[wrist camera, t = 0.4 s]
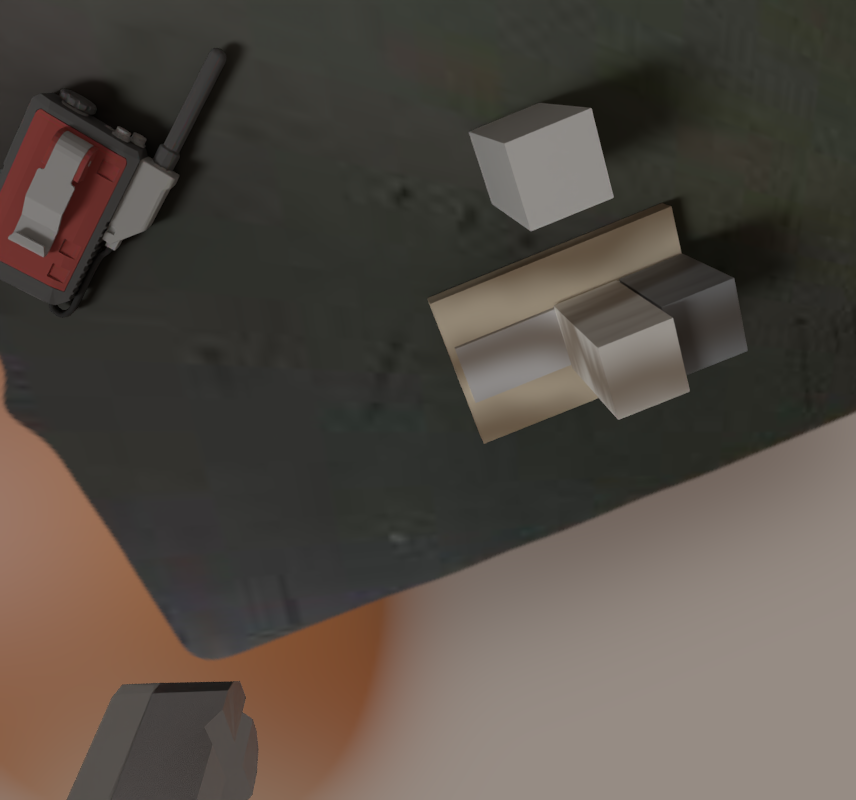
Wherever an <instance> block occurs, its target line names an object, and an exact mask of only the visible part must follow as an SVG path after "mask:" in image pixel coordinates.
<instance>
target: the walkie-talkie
mask: <svg viewBox="0 0 856 800" xmlns="http://www.w3.org/2000/svg"><path fill="white" fill-rule="evenodd" d="M225 62H226V54H225V53H224V51H223V50H221V49H219V48H213V49H212V50H211V51H210V52H209V54H208V56H207V58H206V60H205V62H204V64H203V66H202V68H201V70H200V72H199V74H198V76H197V78H196V80H195V82H194V84H193V86H192V88H191V90H190V92H189V94H188V96H187V98H186V100H185V102H184V104H183V106H182V108H181V110H180V112H179V114H178V116H177V118H176V120H175V122H174V124H173V127H172V129H171V131H170V133H169V135H168V137H167V139H166V141H165V143H164V144H160V146H159V148H158V150H157V152H156V154H155V156H154V158H153V159H152V158H150V157H148V155H147V150H146V148H145V147H146V145H144V144H145V142H146V140H147V139H146V138H145V137H144V136H142V135H140V134H138V133H136V132H134V133H133V135H132V137H130V135H131V133H130V132H129V131H127V130H126V129H124V128H122V127H119V126H118V127H117V128H116V130H115V129H113V128H112V127H110V126H108V125H107V124H105V123H103V122H102V121H100V120H98V119H97V118H95V117H93V116H92V115H94V114H95V113H96V111H97V107H96V106H95V105H94V104H93V103H92V102H91V101H90V100H88V99H87V98H85V97H83V96H82V95H80V94H78V93H76V92H73V91H71V90H69V89H65V88H64V89H61V90H60V93H59V96H58V95H57V94H55V93H42V94H39V95H36V96H34V97H32V99H31V101H30V103H29V105H28V108H27V110H26V112H25V114H24V118H23V120H22V122H21V124H20V127H19V129H18V131H17V133H16V135H15V137H14V139H13V142H12V144H11V147H10V149H9V152H8V154H7V156H6V158H5V161H4V163H3V164H4V167H3V169H1V170H0V172H1V174H0V280H2V281H4V282H6V283H8V284H10V285H12V286H14V287H16V288H18V289H20V290H22V291H24V292H26V293H28V294H30V295H32V296H34V297H36V298H38V299H40V300H42V301H44V302H47V303H49V308H50V311H51V312H53V313H54V314H55V315H56V316H58V317H62V318H63V317H68V316H70V315H71V314H72V313H73V312H74V311H75V310H76V309H77V308H78V306H79V304H80V302H81V300H82V298H83V296H84V294H85V292H86V290H87V288H88V286H89V284H90V282H91V280H92V278H93V276H94V274H95V272H96V270H97V268H98V266H99V264H100V262H101V261H102V259H103V258H104V257H105V256H107V255H108V254H110V253H111V252H112V251H113V250H114V251H115V250H116V249H117V248H118V247H119V246H120V244H121V242H122V240H123V239H125V238H128V237H130V236H133V235H135V234H138V233H141V232H143V231H145V230H147V229H148V228H149V227H150V226H151V225H152V223H153V221H154V219H155V217H156V216H157V214H158V212H159V210H160V208H161V206H162V204H163V202H164V200H165V198H166V196H167V195H168V193H169V191H170V189H171V188H172V187H174V186H175V185H176V183H177V181H178V179H179V176H180V175H179V174H177V173H175V172H174V171H173V169H174V167H175V166H176V164H177V162H178V160H179V158H180V153H179V152H180V150H181V148H182V146H183V144H184V142H185V140H186V138H187V137H188V135H189V133H190V131H191V129H192V127H193V125H194V123H195V121H196V119H197V117H198V115H199V113H200V111H201V109H202V107H203V105H204V104H205V102H206V100H207V98H208V96H209V94H210V92H211V90H212V88H213V86H214V84H215V82H216V80H217V78H218V76H219V74H220V72H221V70H222V68H223V66H224V64H225ZM104 241H106V244H105V246H107V247H106V249H104V250H102V251H101V246H102V245H104V243H105V242H104ZM100 251H101V252H100ZM99 252H100V253H99ZM97 254H98V255H97ZM74 297H75V298H74ZM72 298H74V300H73V302H72V304H71V306H70V307H69V309H67V310H62V309H61V308H59V307H58V305H57V304H61V303H64V302H67V301H70V300H71V299H72Z"/></svg>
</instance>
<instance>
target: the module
mask: <svg viewBox="0 0 856 800" xmlns="http://www.w3.org/2000/svg"><path fill="white" fill-rule="evenodd" d="M469 135H470V138H471V141H472V144H473V147H474V150H475V153H476V156H477V159H478V162H479V166H480V169H481V172H482V175H483V178H484V181H485V184H486V187H487V190H488V193H489V196H490V199H491V202H492V204H493V205H494V206H496V207H497V208H498V209H500V210H501V211H503V212H504V213H506V214H507V215H508V216H510V217H511V218H513V219H514V220H516V221H517V222H518V223H520V224H521V225H523V226H524V227H526V228H527V229H528V230H530V231H533V230H535V229H538V228H540V227H543V226H545V225H548V224H550V223H553V222H555V221H558V220H560V219H562V218H565V217H567V216H570V215H572V214H575V213H577V212H580V211H582V210H585V209H587V208H590V207H592V206H594V205H597V204H599V203H602V202H604V201H607V200H609V199H612V198H614V197H613V192H612V188H611V184H610V180H609V176H608V172H607V168H606V164H605V160H604V156H603V152H602V148H601V144H600V140H599V136H598V132H597V128H596V124H595V120H594V116H593V112H592V108H587V107H577V106H567V105H557V104H547V103H537V104H535V105H532V106H530V107H528V108H525V109H523V110H520V111H518V112H515V113H513V114H510V115H508V116H506V117H503V118H501V119H498V120H496V121H493V122H491V123H489V124H486V125H484V126H481V127H479V128H476V129H474V130H471V131H469Z"/></svg>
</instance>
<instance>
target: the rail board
mask: <svg viewBox="0 0 856 800" xmlns="http://www.w3.org/2000/svg"><path fill="white" fill-rule="evenodd" d="M427 299H428V302H429V304H430V307H431V309H432V312H433V315H434V317H435V320H436V322H437V325H438V328H439V330H440V333H441V335H442V338H443V340H444V343H445V346H446V348H447V351H448V353H449V356H450V359H451V361H452V364H453V366H454V369H455V372H456V374H457V377H458V379H459V382H460V384H461V387H462V390H463V392H464V395H465V397H466V400H467V403H468V405H469V408H470V410H471V413H472V415H473V418H474V421H475V423H476V426H477V428H478V431H479V434H480V436H481V438H482V440H483V442H484V444H485V443H487V442H490V441H492V440H495V439H497V438H500V437H502V436H505V435H507V434H510V433H512V432H515V431H517V430H520V429H522V428H525V427H527V426H530V425H532V424H535V423H537V422H540V421H542V420H545V419H547V418H550V417H552V416H555V415H557V414H560V413H562V412H565V411H567V410H570V409H572V408H575V407H577V406H580V405H582V404H585V403H587V402H590V401H592V400H595V399H597V398H599V399H600V400H601V401H602V402H603V403H604V404H605V405H606V407H607V408H608V409H609V410H610V411H611V412H612V413H613V414H614V416H615V417H616V418H617V419H618V420H619V419H622V418H624V417H627V416H629V415H632V414H634V413H637V412H639V411H642V410H644V409H647V408H650V407H652V406H655V405H657V404H660V403H662V402H665V401H667V400H670V399H672V398H675V397H677V396H680V395H682V394H685V393H687V392H690V389H689V385H688V381H687V376H686V375H688V374H690V373H693V372H695V371H698V370H701V369H703V368H706V367H708V366H711V365H713V364H716V363H718V362H721V361H723V360H726V359H728V358H731V357H733V356H736V355H738V354H741V353H743V352H746V351H748V350H747V345H746V339H745V334H744V328H743V323H742V318H741V312H740V307H739V301H738V296H737V290H736V285H735V280H734V278H733V277H731V276H729V275H727V274H725V273H723V272H721V271H718V270H716V269H714V268H712V267H710V266H708V265H706V264H704V263H702V262H699V261H697V260H695V259H693V258H691V257H689V256H687V255H685V254H682V253H681V248H680V244H679V239H678V235H677V230H676V225H675V221H674V216H673V211H672V207H671V206H669V205H666V204H663V203H661V204H658V205H656V206H653V207H651V208H649V209H646V210H644V211H641V212H639V213H636V214H634V215H631V216H629V217H626V218H624V219H621V220H619V221H616V222H614V223H612V224H609V225H607V226H604V227H602V228H599V229H597V230H594V231H592V232H589V233H587V234H584V235H582V236H579V237H577V238H574V239H572V240H570V241H567V242H565V243H562V244H560V245H557V246H555V247H552V248H550V249H547V250H545V251H542V252H540V253H537V254H535V255H532V256H530V257H528V258H525V259H523V260H520V261H518V262H515V263H513V264H510V265H508V266H505V267H503V268H500V269H498V270H495V271H493V272H491V273H488V274H486V275H483V276H481V277H478V278H476V279H473V280H471V281H468V282H466V283H463V284H461V285H458V286H456V287H453V288H451V289H449V290H446V291H444V292H441V293H439V294H436V295H434V296H431V297H429V298H427Z"/></svg>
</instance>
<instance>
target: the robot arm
mask: <svg viewBox="0 0 856 800" xmlns="http://www.w3.org/2000/svg"><path fill="white" fill-rule="evenodd" d="M245 699H246V697H245V694H244V691H243V689H242V686H241V683H240V681H233V682H190V683H188V682H187V683H151V684H126V685H122V686H121V687H120V688H119V690H118V691H117V692H116V693H115V694H114V695H113V697H112V698H111V701H110V703H109V705H108V707H107V710H106V712H105V714H104V716H103V719H102V721H101V723H100V725H99V728H98V730H97V732H96V734H95V737H94V739H93V741H92V744H91V746H90V748H89V750H88V753H87V755H86V757H85V759H84V762H83V764H82V766H81V768H80V771H79V773H78V775H77V778H76V780H75V782H74V784H73V787H72V789H71V791H70V793H69V796H68V798H67V800H248V799H249V798H250V797H251V796H252V794H253V788H254V784H255V778H256V773H257V761H258V741H257V732H256V728H255V725H254V722H253V719H251V718H250V717H249V716H247V715H246V714H244V713H243V712H242V711H243V707H244V703H245Z"/></svg>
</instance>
